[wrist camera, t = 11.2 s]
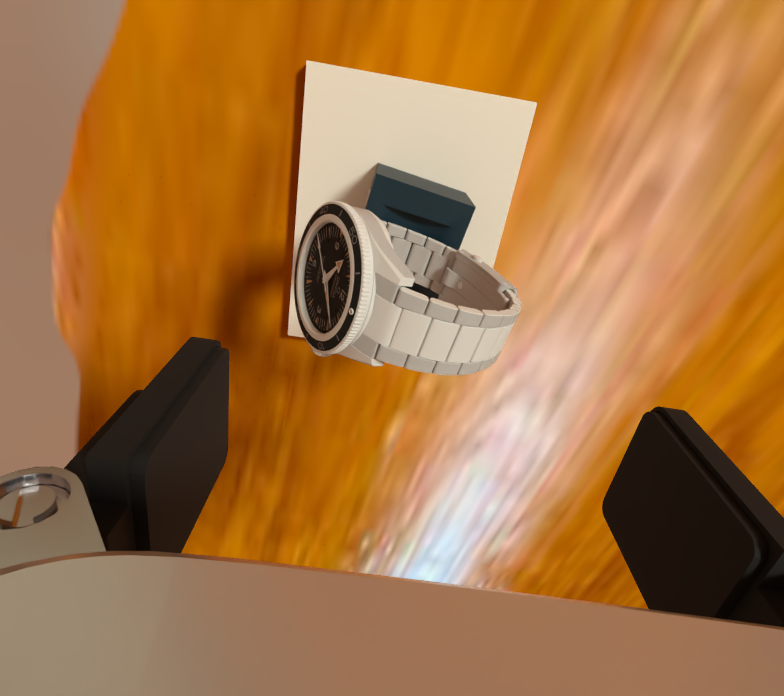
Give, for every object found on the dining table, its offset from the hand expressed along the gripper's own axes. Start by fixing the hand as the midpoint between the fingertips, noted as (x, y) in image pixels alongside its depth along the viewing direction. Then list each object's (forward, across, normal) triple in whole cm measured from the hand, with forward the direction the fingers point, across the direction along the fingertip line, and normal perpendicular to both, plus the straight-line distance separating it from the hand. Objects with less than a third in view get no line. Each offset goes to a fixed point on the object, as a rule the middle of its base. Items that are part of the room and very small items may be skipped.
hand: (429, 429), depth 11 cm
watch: (+15, +1, -1) cm, 15 cm away
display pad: (+16, +1, -1) cm, 16 cm away
